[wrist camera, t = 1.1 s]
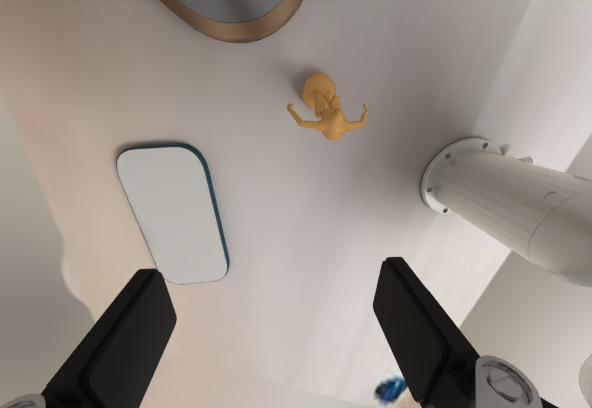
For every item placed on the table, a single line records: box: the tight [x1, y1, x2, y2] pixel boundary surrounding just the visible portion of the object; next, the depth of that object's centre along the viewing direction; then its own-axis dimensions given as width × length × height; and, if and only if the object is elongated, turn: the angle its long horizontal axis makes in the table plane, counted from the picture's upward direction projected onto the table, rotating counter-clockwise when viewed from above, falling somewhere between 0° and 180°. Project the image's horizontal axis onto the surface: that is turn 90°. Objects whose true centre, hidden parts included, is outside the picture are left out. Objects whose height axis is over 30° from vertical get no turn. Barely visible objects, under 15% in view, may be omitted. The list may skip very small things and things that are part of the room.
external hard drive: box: [116, 144, 229, 284], centre depth 34 cm, size 24×12×2 cm, turn 3°
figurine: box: [287, 74, 368, 140], centre depth 24 cm, size 8×6×12 cm
